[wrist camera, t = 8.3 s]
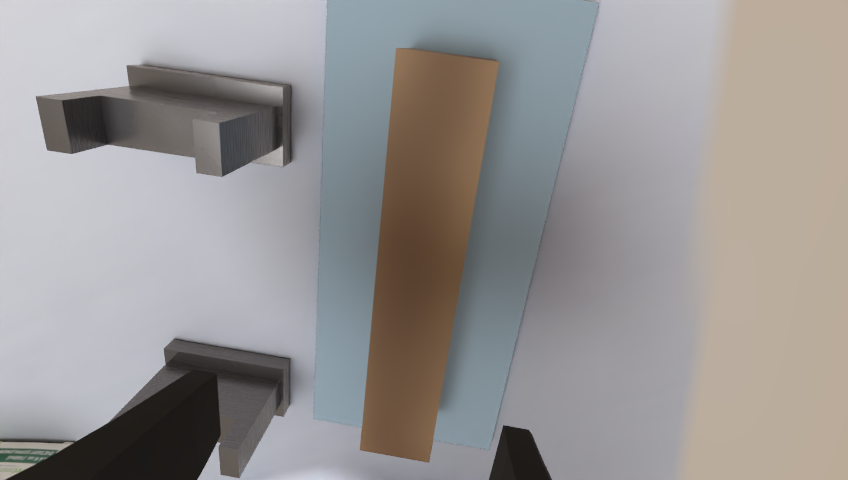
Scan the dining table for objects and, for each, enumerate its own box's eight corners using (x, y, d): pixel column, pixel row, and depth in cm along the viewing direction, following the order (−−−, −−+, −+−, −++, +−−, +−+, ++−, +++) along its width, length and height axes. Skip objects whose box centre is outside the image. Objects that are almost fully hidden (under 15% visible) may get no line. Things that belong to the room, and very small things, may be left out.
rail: (495, 59, 16) (499, 61, 13) (435, 411, 22) (429, 462, 19) (409, 48, 16) (395, 48, 13) (374, 400, 22) (359, 450, 19)
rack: (290, 85, 17) (224, 99, 13) (289, 405, 24) (244, 490, 19) (141, 64, 18) (24, 70, 13) (179, 385, 24) (109, 465, 19)
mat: (594, 4, 15) (599, 2, 15) (488, 440, 23) (489, 450, 23) (333, -30, 16) (328, -32, 15) (317, 410, 24) (313, 418, 23)
